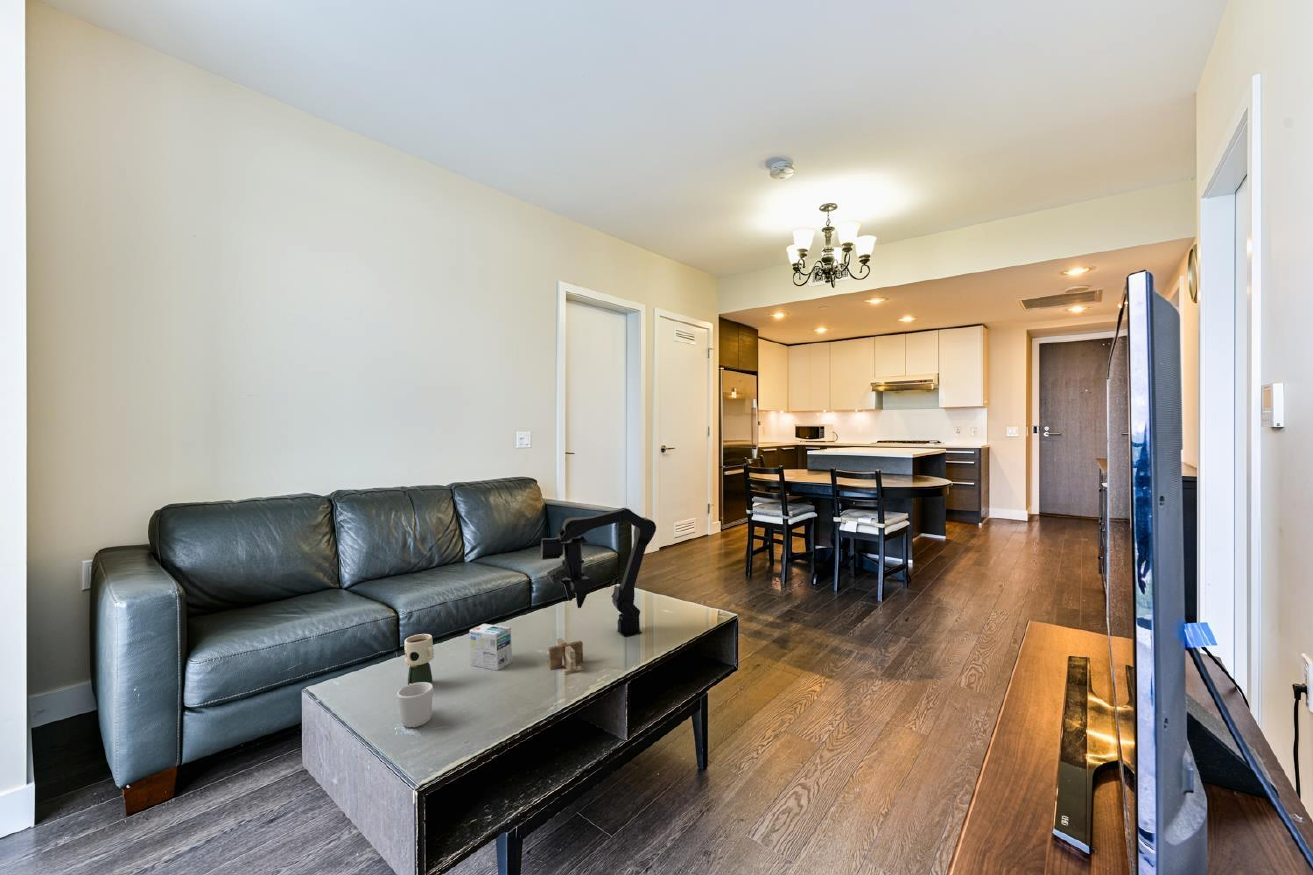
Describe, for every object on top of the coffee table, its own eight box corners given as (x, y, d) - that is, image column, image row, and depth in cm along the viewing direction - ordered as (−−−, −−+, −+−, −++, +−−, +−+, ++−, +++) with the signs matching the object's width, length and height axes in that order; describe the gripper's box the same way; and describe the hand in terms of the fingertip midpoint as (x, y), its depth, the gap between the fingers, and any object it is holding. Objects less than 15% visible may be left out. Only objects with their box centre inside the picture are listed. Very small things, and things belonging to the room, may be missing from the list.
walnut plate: (581, 660, 165) (580, 640, 165) (583, 662, 164) (582, 641, 164) (549, 667, 161) (548, 647, 161) (550, 669, 159) (549, 649, 159)
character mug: (395, 687, 151) (393, 640, 151) (417, 676, 158) (415, 631, 158) (423, 694, 146) (421, 645, 146) (444, 683, 153) (442, 636, 153)
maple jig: (568, 656, 169) (567, 636, 169) (581, 670, 158) (580, 649, 158) (552, 659, 166) (551, 639, 166) (564, 674, 156) (564, 653, 156)
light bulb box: (513, 662, 166) (511, 626, 166) (497, 671, 160) (496, 634, 160) (485, 657, 170) (484, 622, 170) (469, 665, 164) (468, 629, 164)
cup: (409, 709, 138) (408, 677, 138) (442, 707, 139) (441, 675, 139) (392, 732, 128) (391, 698, 128) (428, 729, 128) (426, 695, 128)
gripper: (541, 554, 186) (542, 601, 186) (558, 565, 169) (559, 616, 169) (572, 550, 191) (574, 595, 191) (592, 560, 175) (593, 610, 175)
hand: (574, 604), depth 181 cm, fingers open, 9 cm apart
